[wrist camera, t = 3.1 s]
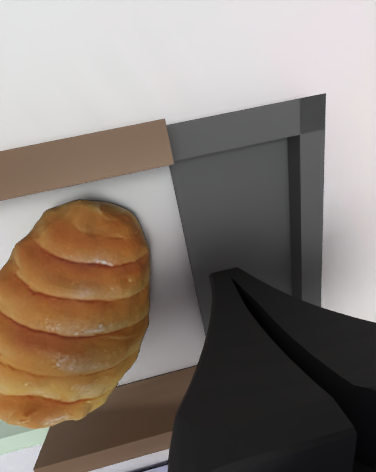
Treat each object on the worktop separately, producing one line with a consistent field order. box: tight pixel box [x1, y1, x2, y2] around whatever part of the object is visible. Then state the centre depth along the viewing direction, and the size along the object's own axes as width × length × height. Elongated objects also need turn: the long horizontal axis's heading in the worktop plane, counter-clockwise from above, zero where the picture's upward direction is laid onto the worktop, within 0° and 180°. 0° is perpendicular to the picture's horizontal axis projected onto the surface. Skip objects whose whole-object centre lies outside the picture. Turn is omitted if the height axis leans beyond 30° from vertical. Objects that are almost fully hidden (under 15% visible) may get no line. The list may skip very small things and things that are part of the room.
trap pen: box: [166, 93, 326, 336], centre depth 11 cm, size 14×6×1 cm, turn 11°
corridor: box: [0, 119, 197, 472], centre depth 10 cm, size 14×9×3 cm, turn 11°
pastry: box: [0, 199, 150, 429], centre depth 9 cm, size 9×7×4 cm
